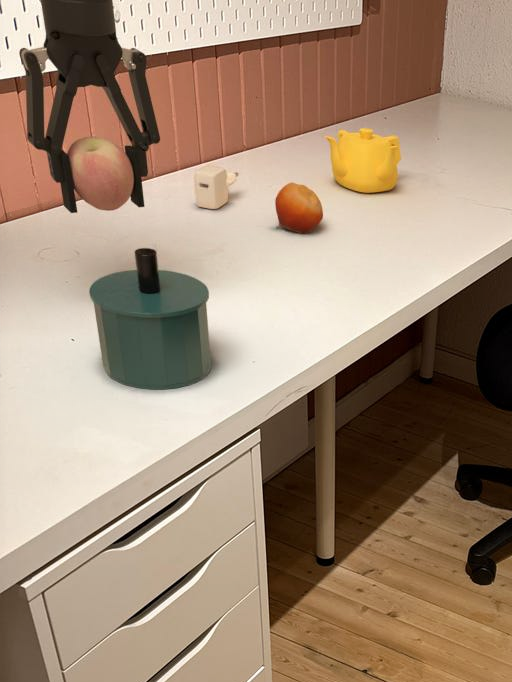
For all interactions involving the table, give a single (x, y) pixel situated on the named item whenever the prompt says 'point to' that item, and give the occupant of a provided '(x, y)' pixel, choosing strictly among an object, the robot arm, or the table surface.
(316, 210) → the fruit
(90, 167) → the apple
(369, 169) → the teapot
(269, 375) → the table surface
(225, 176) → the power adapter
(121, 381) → the pot
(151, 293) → the pot lid
